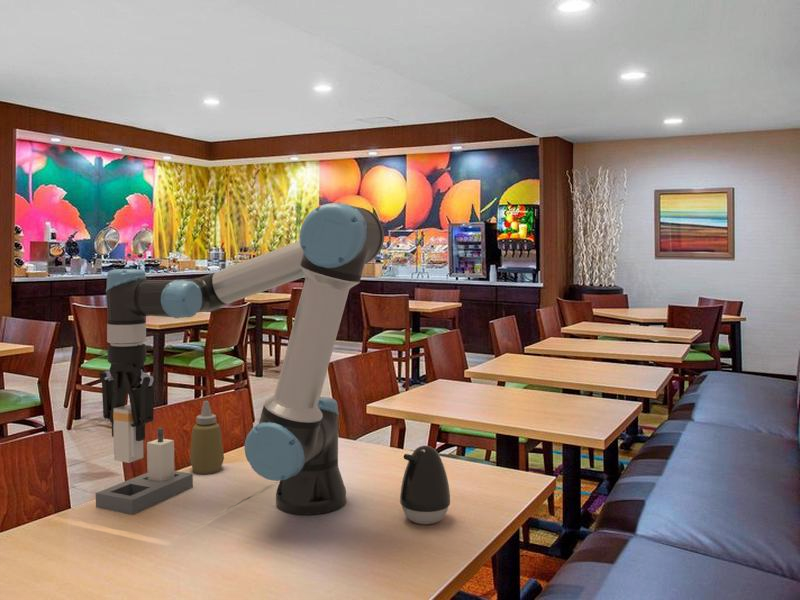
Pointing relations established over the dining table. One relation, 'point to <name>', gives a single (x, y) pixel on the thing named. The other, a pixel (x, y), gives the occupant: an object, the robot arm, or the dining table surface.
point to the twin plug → (160, 458)
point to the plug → (123, 434)
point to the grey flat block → (142, 493)
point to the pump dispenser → (425, 487)
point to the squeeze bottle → (206, 443)
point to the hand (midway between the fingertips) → (128, 453)
